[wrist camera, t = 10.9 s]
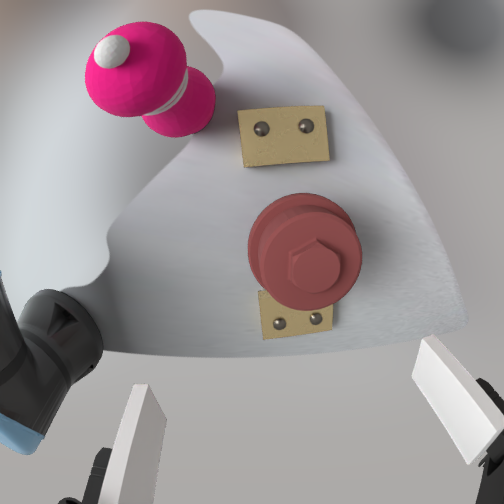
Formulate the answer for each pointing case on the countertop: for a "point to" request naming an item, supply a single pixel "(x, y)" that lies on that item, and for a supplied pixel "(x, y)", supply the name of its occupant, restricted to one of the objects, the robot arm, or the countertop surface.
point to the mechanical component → (305, 251)
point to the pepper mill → (149, 80)
